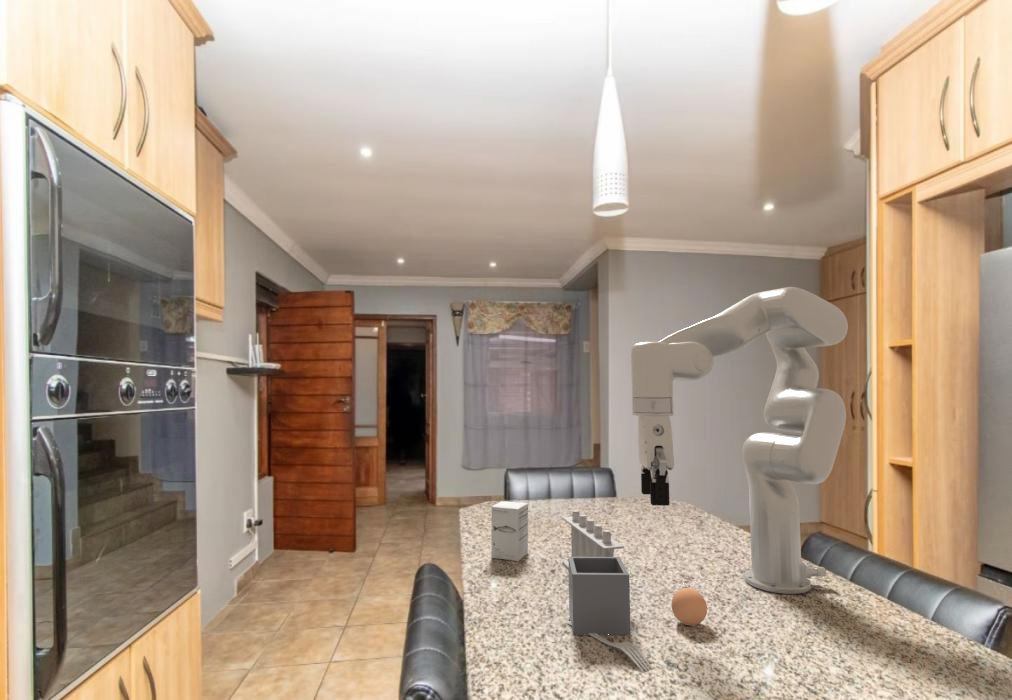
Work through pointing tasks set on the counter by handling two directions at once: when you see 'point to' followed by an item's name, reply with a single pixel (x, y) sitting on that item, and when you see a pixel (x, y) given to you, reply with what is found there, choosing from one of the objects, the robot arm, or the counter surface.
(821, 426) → the robot arm
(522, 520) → the supplement box
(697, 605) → the ball
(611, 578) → the grey open square box
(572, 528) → the test tube rack
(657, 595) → the counter surface
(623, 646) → the fork
